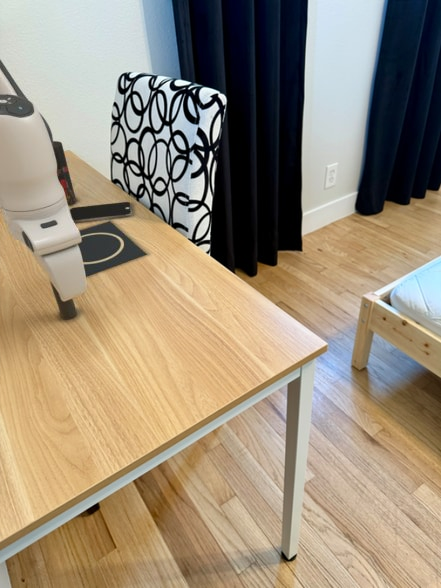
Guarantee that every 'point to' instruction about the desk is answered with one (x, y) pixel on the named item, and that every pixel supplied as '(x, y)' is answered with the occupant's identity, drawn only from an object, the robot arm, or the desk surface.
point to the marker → (65, 306)
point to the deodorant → (63, 173)
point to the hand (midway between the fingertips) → (62, 292)
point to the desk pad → (106, 248)
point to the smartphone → (101, 212)
